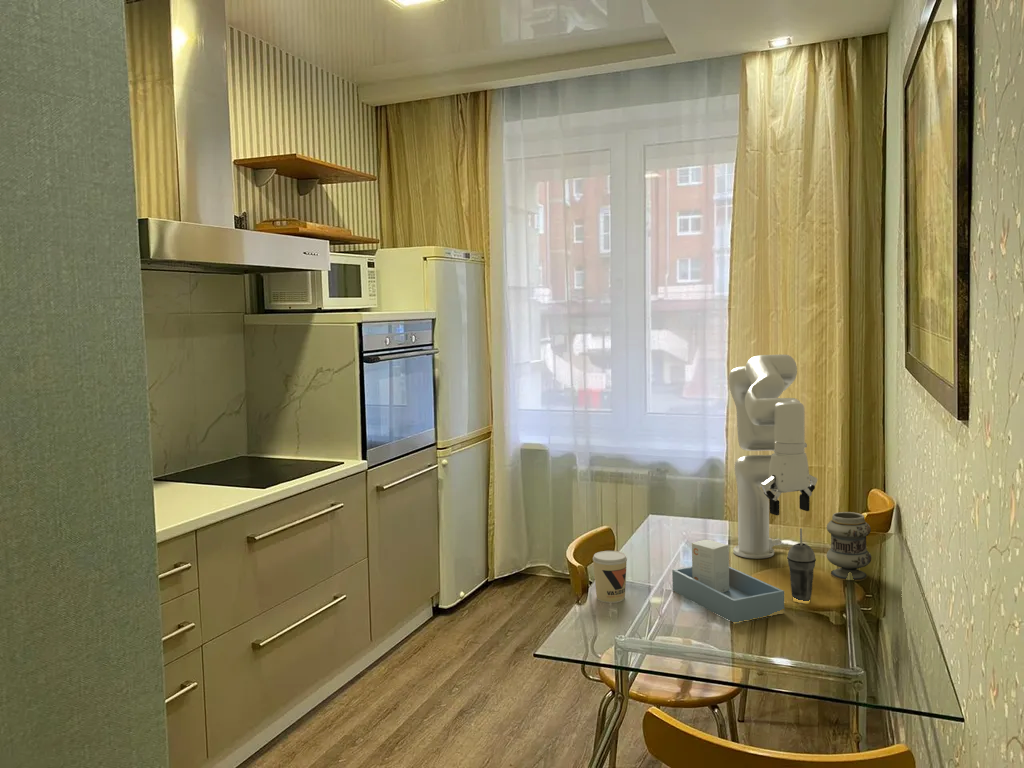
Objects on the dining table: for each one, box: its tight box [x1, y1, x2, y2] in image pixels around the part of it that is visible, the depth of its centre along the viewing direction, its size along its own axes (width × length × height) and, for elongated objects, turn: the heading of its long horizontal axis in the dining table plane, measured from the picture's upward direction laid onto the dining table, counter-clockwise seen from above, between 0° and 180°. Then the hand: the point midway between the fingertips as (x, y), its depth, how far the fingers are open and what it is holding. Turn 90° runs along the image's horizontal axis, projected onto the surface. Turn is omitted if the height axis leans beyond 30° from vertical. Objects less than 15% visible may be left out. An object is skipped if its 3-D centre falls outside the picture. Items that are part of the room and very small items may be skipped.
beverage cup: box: [786, 528, 817, 601], centre depth 216 cm, size 7×7×20 cm
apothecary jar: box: [826, 511, 872, 582], centre depth 235 cm, size 12×12×18 cm
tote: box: [671, 565, 785, 622], centre depth 218 cm, size 16×28×6 cm, turn 22°
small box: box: [691, 539, 730, 593], centre depth 224 cm, size 8×6×13 cm
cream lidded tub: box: [592, 550, 628, 604], centre depth 223 cm, size 9×9×12 cm
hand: (789, 512), depth 216 cm, fingers open, 9 cm apart
